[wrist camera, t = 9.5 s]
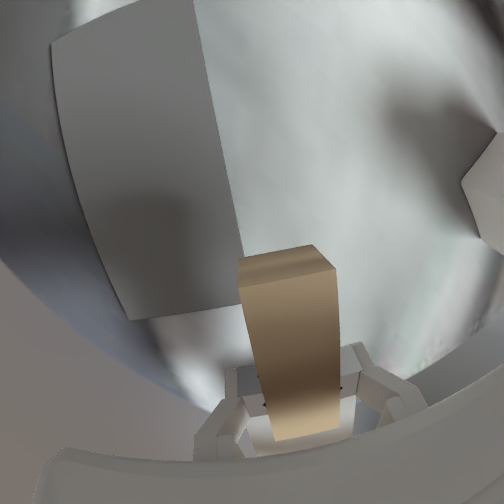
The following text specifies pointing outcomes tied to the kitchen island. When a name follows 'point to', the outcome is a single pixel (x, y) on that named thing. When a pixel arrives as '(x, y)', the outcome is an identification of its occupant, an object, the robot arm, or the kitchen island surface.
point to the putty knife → (295, 349)
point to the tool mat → (149, 158)
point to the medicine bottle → (488, 193)
